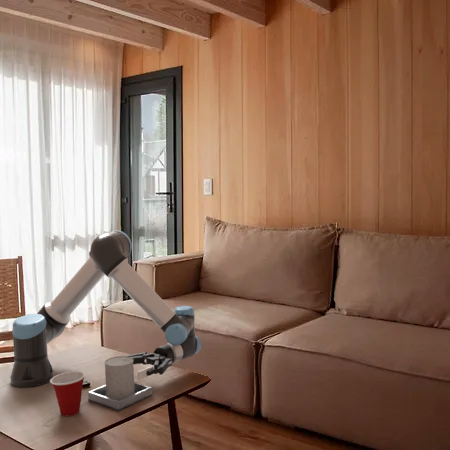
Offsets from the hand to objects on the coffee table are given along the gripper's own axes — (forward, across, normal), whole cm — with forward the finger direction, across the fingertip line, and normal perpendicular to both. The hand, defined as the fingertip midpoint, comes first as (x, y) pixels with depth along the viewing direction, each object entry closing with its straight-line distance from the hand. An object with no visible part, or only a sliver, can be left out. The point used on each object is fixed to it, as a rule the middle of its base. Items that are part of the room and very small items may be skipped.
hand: (124, 371), depth 192 cm
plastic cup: (+19, +5, -9) cm, 22 cm away
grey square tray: (+2, 0, -9) cm, 9 cm away
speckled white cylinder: (+2, 0, -8) cm, 9 cm away
